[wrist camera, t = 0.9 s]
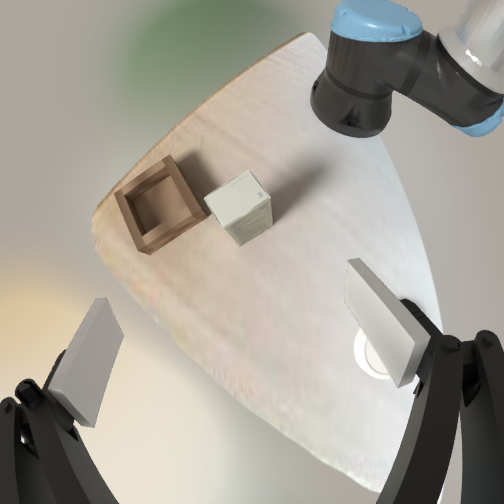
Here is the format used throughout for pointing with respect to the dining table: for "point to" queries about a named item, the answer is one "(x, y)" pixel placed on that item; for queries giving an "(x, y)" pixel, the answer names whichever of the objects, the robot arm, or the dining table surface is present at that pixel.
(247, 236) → the skincare box
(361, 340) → the white round piece
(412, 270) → the dining table surface
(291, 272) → the dining table surface
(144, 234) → the holder
